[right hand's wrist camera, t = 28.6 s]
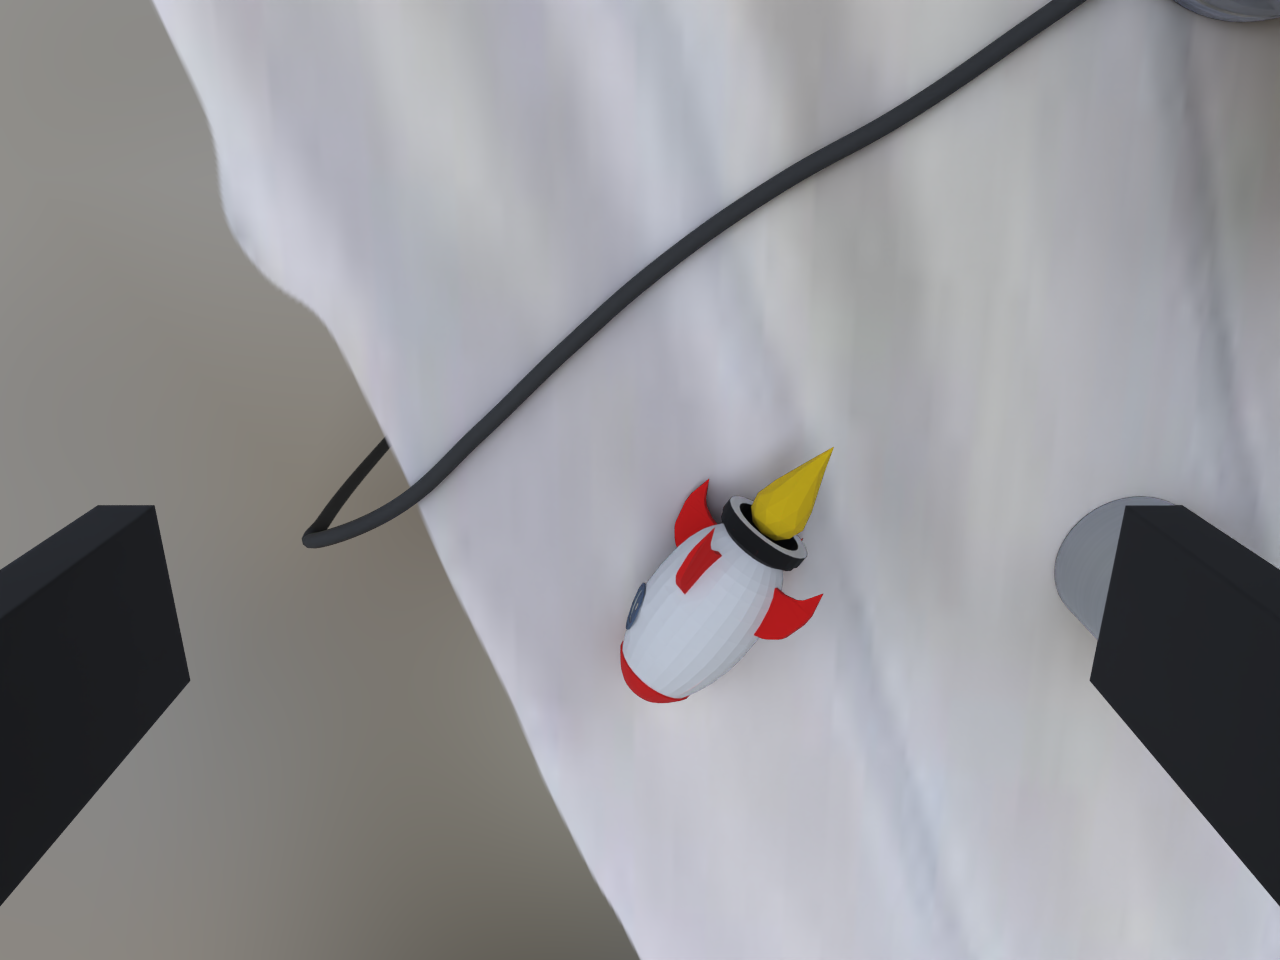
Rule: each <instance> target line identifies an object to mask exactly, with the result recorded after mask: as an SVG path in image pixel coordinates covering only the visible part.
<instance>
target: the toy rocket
mask: <svg viewBox="0 0 1280 960" xmlns="http://www.w3.org/2000/svg"><path fill="white" fill-rule="evenodd" d="M833 448H834V447H832V448H831V449H829V450H827V451H825V452H824V453H822V454H820V455H818V456H817V457H815V458H813V459H811V460H809V461H808V462H806V463H804V464H803V465H801V466H799V467H797V468H796V469H794V470H792V471H790V472H789V473H787V474H785V475H784V476H782V477H780V478H778V479H777V480H775V481H774V482H772V483H771V484H770V485H768V486H767V487H765V488H764V489H763V490H761V491H760V492H759V493H758V494H757V496H756V498H755V500H754V501H752V500H750V499H747V498H745V497H741V496H733V497H731V498H730V500H729V501H728V502H727V503H726V505H725V506H724V508H723V513H722V515H721V518H722V522H723V523H722V524H717V523H716V522H715V521H714V519H713V518H712V516H711V514H710V512H709V510H708V508H707V503H706V495H707V489H708V483H709V479H708V480H707V481H706V482H704V483H703V484H702V485H701V486H700V487H698V488H697V489H696V490H695V491H694V492H692V493H691V495H690V496H689V497H688V499H687V500H686V501H685V503H684V505H683V508H682V510H681V512H680V514H679V516H678V518H677V520H676V523H675V543H676V546H677V548H676V549H675V550H674V551H673V552H672V553H671V554H670V555H669V556H668V557H667V559H666V560H665V561H664V562H663V563H662V564H661V565H660V566H659V568H658V569H657V570H656V572H655V573H654V574H653V576H652V577H651V578H650V580H649V581H648V582H647V584H645V583H642V585H641V586H640V588H639V589H638V592H637V594H636V596H635V598H634V601H633V603H632V606H631V609H630V612H629V615H628V619H627V623H626V629H627V630H626V633H625V637H624V641H623V642H622V644H621V650H620V653H621V669H622V673H623V676H624V680H625V682H626V683H627V685H628V686H629V688H630V689H631V690H632V691H633V692H634V693H635V694H636V695H638V696H639V697H641V698H642V699H644V700H646V701H649V702H654V703H670V702H676V701H681V700H684V699H687V697H688V696H689V695H691V694H693V693H695V692H697V691H699V690H701V689H703V688H705V687H706V686H708V685H710V684H712V683H713V682H715V681H716V680H717V679H718V678H720V677H721V676H722V675H724V674H725V673H726V672H728V671H729V670H730V669H731V668H732V667H733V666H734V665H735V664H736V663H737V662H738V661H740V659H741V658H742V657H743V656H744V655H745V654H746V653H747V651H748V650H749V649H750V648H751V647H752V646H753V644H754V643H755V642H756V641H757V640H758V638H762V639H774V640H779V639H784V638H786V637H788V636H789V635H791V634H792V633H794V632H795V631H797V630H798V629H799V628H801V627H802V626H804V625H805V624H806V623H807V622H808V620H809V619H810V618H811V617H812V615H813V613H814V611H815V609H816V607H817V605H818V603H819V601H820V599H821V597H822V595H823V594H821V595H818V596H815V597H813V598H810V599H807V600H796V599H794V598H791V597H789V596H787V595H785V594H784V593H783V592H782V584H783V570H784V571H791V570H792V569H793V568H797V567H798V566H799V565H800V564H801V563H802V561H803V560H804V559H805V558H806V557H807V550H806V547H805V545H804V544H803V542H802V540H803V538H802V539H800V538H799V537H798V536H797V535H796V534H798V533H800V532H801V531H803V529H804V527H805V525H806V523H807V521H808V519H809V517H810V515H811V513H812V510H813V506H814V503H815V500H816V497H817V494H818V491H819V488H820V484H821V481H822V478H823V475H824V472H825V469H826V467H827V464H828V461H829V459H830V456H831V453H832V451H833Z"/></svg>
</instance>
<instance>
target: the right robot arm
mask: <svg viewBox="0 0 1280 960" xmlns="http://www.w3.org/2000/svg"><path fill="white" fill-rule="evenodd" d="M1085 1H1086V0H1052V1H1051V2H1049V3H1048V4H1047V5H1045V6H1044V7H1042V8H1041V9H1039V10H1038V11H1037V12H1035V13H1034V14H1032V15H1031V16H1029V17H1028V18H1027V19H1025V20H1024V21H1022V22H1021V23H1019V24H1018V25H1016V26H1015V27H1014V28H1012V29H1011V30H1009V31H1008V32H1007V33H1005V34H1004V35H1002V36H1001V37H999V38H998V39H997V40H995V41H994V42H992V43H991V44H990V45H988V46H987V47H985V48H984V49H982V50H981V51H980V52H978V53H977V54H975V55H974V56H973V57H971V58H970V59H968V60H967V61H965V62H964V63H963V64H961V65H960V66H958V67H957V68H955V69H954V70H953V71H951V72H950V73H948V74H947V75H945V76H944V77H942V78H941V79H939V80H938V81H936V82H935V83H933V84H932V85H930V86H929V87H927V88H926V89H924V90H923V91H921V92H920V93H918V94H916V95H915V96H913V97H912V98H910V99H909V100H907V101H905V102H904V103H902V104H901V105H899V106H897V107H896V108H894V109H893V110H891V111H889V112H888V113H886V114H884V115H882V116H881V117H879V118H877V119H876V120H874V121H872V122H870V123H868V124H867V125H865V126H863V127H861V128H859V129H858V130H856V131H854V132H852V133H850V134H848V135H846V136H845V137H843V138H841V139H839V140H837V141H835V142H833V143H831V144H830V145H828V146H826V147H824V148H822V149H820V150H818V151H817V152H815V153H813V154H811V155H809V156H808V157H806V158H804V159H802V160H801V161H799V162H797V163H795V164H794V165H792V166H790V167H789V168H787V169H785V170H784V171H782V172H780V173H779V174H777V175H776V176H774V177H772V178H771V179H769V180H768V181H766V182H765V183H763V184H761V185H760V186H758V187H757V188H755V189H754V190H752V191H750V192H749V193H747V194H746V195H744V196H743V197H741V198H740V199H738V200H737V201H735V202H734V203H732V204H731V205H729V206H728V207H726V208H725V209H723V210H722V211H720V212H719V213H717V214H716V215H715V216H713V217H712V218H710V219H709V220H707V221H706V222H705V223H703V224H702V225H700V226H699V227H698V228H696V229H695V230H694V231H692V232H691V233H690V234H688V235H687V236H686V237H684V238H683V239H682V240H680V241H679V242H678V243H676V244H675V245H674V246H672V247H671V248H670V249H668V250H667V251H666V252H665V253H663V254H662V255H661V256H659V257H658V258H657V259H656V260H654V261H653V262H652V263H651V264H649V265H648V266H647V267H646V268H644V269H643V270H642V271H641V272H639V273H638V274H637V275H636V276H635V277H633V278H632V279H631V280H630V281H629V282H627V283H626V284H625V285H624V286H623V287H622V288H620V289H619V290H618V291H617V292H616V293H615V294H614V295H612V296H611V297H610V298H609V299H608V300H607V301H606V302H605V303H603V304H602V305H601V306H600V307H599V308H598V309H597V310H596V311H595V312H593V313H592V314H591V315H590V316H589V317H588V318H587V319H586V320H585V321H584V322H583V323H582V324H580V325H579V326H578V327H577V328H576V329H575V330H574V331H573V332H572V333H571V334H570V335H569V336H567V337H566V338H565V339H564V340H563V341H562V342H561V343H560V344H559V345H558V346H557V347H556V348H554V349H553V350H552V351H551V352H550V353H549V354H548V355H547V356H546V357H545V358H544V359H543V360H542V361H541V362H540V363H539V364H538V365H537V366H536V367H535V368H534V369H533V370H532V371H530V372H529V373H528V374H527V375H526V376H525V377H524V378H523V379H522V380H521V381H520V382H519V383H518V384H517V385H516V386H515V387H514V388H513V389H512V390H511V391H510V392H509V393H508V394H507V395H506V396H505V397H504V398H503V399H502V400H501V401H500V402H499V403H498V404H497V405H496V406H495V407H494V408H493V409H492V410H491V411H490V412H489V413H488V414H487V415H486V416H485V417H484V418H483V419H482V420H481V421H480V422H478V423H477V424H476V425H475V426H474V427H473V428H472V429H471V430H470V431H469V432H468V433H467V434H466V435H465V436H464V437H463V438H462V439H461V440H460V441H459V442H458V443H457V444H456V445H455V446H454V447H453V448H452V449H451V450H450V451H449V452H448V453H447V454H446V455H445V456H444V457H443V458H442V459H441V460H440V461H439V462H438V463H437V464H436V465H435V466H434V467H433V468H432V469H431V470H430V471H429V472H428V473H427V474H426V475H425V476H424V477H422V478H421V479H420V480H419V481H418V482H417V483H415V484H414V485H413V486H412V487H410V488H409V489H408V490H407V491H405V492H404V493H402V494H401V495H400V496H398V497H397V498H395V499H394V500H392V501H391V502H389V503H387V504H386V505H384V506H382V507H380V508H379V509H377V510H375V511H373V512H371V513H369V514H367V515H365V516H362V517H360V518H358V519H356V520H353V521H351V522H348V523H346V524H343V525H340V526H337V527H334V528H331V529H328V527H329V526H330V524H331V523H332V521H333V520H334V518H335V517H336V515H337V514H338V512H339V511H340V509H341V508H342V506H343V505H344V504H345V502H346V501H347V500H348V498H349V497H350V496H351V494H352V493H353V492H354V491H355V489H356V488H357V487H358V485H359V484H360V483H361V482H362V481H363V479H364V478H365V477H366V476H367V474H368V473H369V472H370V471H371V470H372V468H373V467H374V466H375V465H376V464H377V463H378V461H379V460H380V459H381V458H382V457H383V456H384V454H385V453H386V452H387V451H388V450H389V449H390V447H391V445H390V444H389V442H388V440H387V438H386V436H385V437H384V438H383V439H382V440H381V442H380V443H379V444H378V445H377V446H376V447H375V448H374V449H373V450H372V452H371V453H370V454H369V455H368V456H367V457H366V458H365V459H364V460H363V462H362V463H361V464H360V465H359V466H358V467H357V468H356V470H355V471H354V472H353V473H352V474H351V475H350V476H349V478H348V479H347V480H346V481H345V482H344V484H343V485H342V486H341V487H340V489H339V490H338V491H337V492H336V494H335V495H334V496H333V497H332V499H331V500H330V501H329V503H328V504H327V505H326V506H325V508H324V509H323V511H322V512H321V514H320V515H319V516H318V518H317V519H316V520H315V522H314V523H313V524H312V525H311V526H310V527H309V528H308V529H307V530H306V531H305V533H304V534H303V537H302V543H303V545H305V546H306V547H307V548H321V547H325V546H329V545H333V544H336V543H339V542H342V541H345V540H348V539H351V538H353V537H356V536H358V535H361V534H363V533H366V532H368V531H370V530H372V529H374V528H376V527H378V526H380V525H382V524H384V523H386V522H388V521H390V520H391V519H393V518H395V517H396V516H398V515H400V514H401V513H403V512H404V511H406V510H407V509H409V508H410V507H412V506H413V505H415V504H416V503H417V502H418V501H420V500H421V499H422V498H424V497H425V496H426V495H427V494H428V493H430V492H431V491H432V490H433V489H434V488H435V487H436V486H437V485H438V484H440V483H441V482H442V481H443V480H444V479H445V478H446V477H447V476H448V475H449V474H450V473H451V472H452V471H453V470H454V469H455V468H456V467H457V466H458V465H459V464H460V463H461V462H462V461H463V460H464V459H465V458H466V457H467V456H468V455H469V454H470V453H471V452H472V451H473V450H474V449H475V448H476V447H477V446H478V445H479V444H480V443H481V442H482V441H483V440H484V439H485V438H486V437H487V436H489V435H490V434H491V433H492V432H493V431H494V430H495V429H496V428H497V427H498V426H499V425H500V424H501V423H502V422H503V421H504V420H505V419H506V418H507V417H509V416H510V415H511V414H512V413H513V412H514V411H515V410H516V409H517V408H518V407H519V406H520V405H521V404H522V403H523V402H524V401H525V400H526V399H527V398H528V397H529V396H530V395H531V394H532V393H533V392H534V391H535V390H536V389H537V388H538V387H539V386H540V385H541V384H542V383H543V382H544V381H545V380H546V379H547V378H548V377H549V376H550V375H551V374H552V373H554V372H555V371H556V370H557V369H558V368H559V367H560V366H561V365H562V364H563V363H564V362H565V361H566V360H567V359H568V358H570V357H571V356H572V355H573V354H574V353H575V352H576V351H577V350H578V349H579V348H580V347H582V346H583V345H584V344H585V343H586V342H587V341H588V340H589V339H590V338H591V337H593V336H594V335H595V334H596V333H597V332H598V331H599V330H600V329H601V328H602V327H604V326H605V325H606V324H607V323H608V322H609V321H610V320H611V319H612V318H613V317H615V316H616V315H617V314H618V313H619V312H620V311H621V310H623V309H624V308H625V307H626V306H627V305H628V304H629V303H631V302H632V301H633V300H634V299H635V298H636V297H638V296H639V295H640V294H641V293H642V292H644V291H645V290H646V289H647V288H649V287H650V286H651V285H652V284H653V283H655V282H656V281H657V280H658V279H660V278H661V277H662V276H664V275H665V274H666V273H667V272H669V271H670V270H671V269H673V268H674V267H675V266H676V265H678V264H679V263H680V262H682V261H683V260H684V259H686V258H687V257H688V256H690V255H691V254H692V253H694V252H695V251H696V250H698V249H699V248H700V247H702V246H703V245H704V244H706V243H707V242H709V241H710V240H711V239H713V238H714V237H716V236H717V235H718V234H720V233H721V232H723V231H724V230H726V229H727V228H729V227H730V226H732V225H733V224H734V223H736V222H737V221H739V220H740V219H742V218H743V217H745V216H747V215H748V214H750V213H751V212H753V211H754V210H756V209H757V208H759V207H760V206H762V205H764V204H765V203H767V202H768V201H770V200H771V199H773V198H775V197H776V196H778V195H779V194H781V193H783V192H784V191H786V190H787V189H789V188H791V187H792V186H794V185H796V184H797V183H799V182H801V181H802V180H804V179H806V178H808V177H809V176H811V175H813V174H815V173H816V172H818V171H820V170H822V169H824V168H826V167H827V166H829V165H831V164H833V163H835V162H837V161H839V160H841V159H842V158H844V157H846V156H848V155H850V154H852V153H854V152H856V151H858V150H859V149H861V148H863V147H865V146H867V145H869V144H871V143H872V142H874V141H876V140H878V139H880V138H881V137H883V136H885V135H887V134H888V133H890V132H892V131H894V130H895V129H897V128H899V127H900V126H902V125H904V124H905V123H907V122H909V121H910V120H912V119H913V118H915V117H917V116H918V115H920V114H921V113H923V112H925V111H926V110H928V109H929V108H931V107H932V106H934V105H935V104H937V103H938V102H940V101H942V100H943V99H945V98H946V97H948V96H949V95H951V94H952V93H954V92H955V91H957V90H958V89H959V88H961V87H962V86H964V85H965V84H967V83H968V82H970V81H971V80H973V79H974V78H975V77H977V76H978V75H980V74H981V73H983V72H984V71H985V70H987V69H988V68H990V67H991V66H993V65H994V64H995V63H997V62H998V61H1000V60H1001V59H1003V58H1004V57H1005V56H1007V55H1008V54H1010V53H1011V52H1013V51H1014V50H1015V49H1017V48H1018V47H1020V46H1021V45H1023V44H1024V43H1025V42H1027V41H1028V40H1030V39H1031V38H1033V37H1034V36H1036V35H1037V34H1038V33H1040V32H1041V31H1043V30H1044V29H1046V28H1047V27H1049V26H1050V25H1052V24H1053V23H1054V22H1056V21H1057V20H1059V19H1060V18H1062V17H1063V16H1065V15H1066V14H1067V13H1069V12H1070V11H1072V10H1073V9H1075V8H1076V7H1077V6H1079V5H1080V4H1082V3H1083V2H1085ZM1174 1H1175V2H1177V3H1178V4H1180V5H1182V6H1183V7H1185V8H1187V9H1189V10H1191V11H1193V12H1195V13H1197V14H1200V15H1203V16H1206V17H1209V18H1213V19H1218V20H1223V21H1233V22H1254V21H1261V20H1269V19H1274V18H1279V17H1280V0H1174ZM327 529H328V530H327ZM189 681H190V677H189V672H188V667H187V662H186V657H185V652H184V647H183V642H182V638H181V633H180V628H179V623H178V618H177V613H176V608H175V603H174V598H173V594H172V589H171V584H170V579H169V574H168V569H167V564H166V559H165V555H164V550H163V545H162V540H161V535H160V530H159V525H158V520H157V515H156V511H155V506H154V505H98V506H96V507H95V508H93V509H92V510H90V511H89V512H87V513H86V514H84V515H83V516H81V517H80V518H78V519H76V520H75V521H74V522H72V523H70V524H69V525H67V526H66V527H64V528H63V529H61V530H60V531H58V532H57V533H55V534H54V535H52V536H51V537H49V538H48V539H46V540H45V541H43V542H42V543H40V544H39V545H37V546H36V547H34V548H33V549H31V550H30V551H28V552H27V553H25V554H24V555H22V556H21V557H19V558H18V559H16V560H15V561H13V562H12V563H10V564H8V565H7V566H6V567H4V568H2V569H1V570H0V906H1V905H2V903H3V902H4V901H5V900H6V899H7V898H8V896H9V895H10V894H11V893H12V892H13V890H14V889H15V888H16V887H17V886H18V885H19V883H20V882H21V881H22V880H23V879H24V877H25V876H26V875H27V874H28V873H29V871H30V870H31V869H32V868H33V867H34V866H35V864H36V863H37V862H38V861H39V860H40V858H41V857H42V856H43V855H44V854H45V852H46V851H47V850H48V849H49V848H50V847H51V845H52V844H53V843H54V842H55V841H56V839H57V838H58V837H59V836H60V835H61V833H62V832H63V831H64V830H65V829H66V828H67V826H68V825H69V824H70V823H71V822H72V820H73V819H74V818H75V817H76V816H77V814H78V813H79V812H80V811H81V810H82V809H83V807H84V806H85V805H86V804H87V803H88V801H89V800H90V799H91V798H92V797H93V795H94V794H95V793H96V792H97V791H98V790H99V788H100V787H101V786H102V785H103V784H104V782H105V781H106V780H107V779H108V778H109V776H110V775H111V774H112V773H113V772H114V771H115V769H116V768H117V767H118V766H119V765H120V763H121V762H122V761H123V760H124V759H125V757H126V756H127V755H128V754H129V753H130V752H131V750H132V749H133V748H134V747H135V746H136V744H137V743H138V742H139V741H140V740H141V738H142V737H143V736H144V735H145V734H146V733H147V731H148V730H149V729H150V728H151V727H152V725H153V724H154V723H155V722H156V721H157V719H158V718H159V717H160V716H161V715H162V714H163V712H164V711H165V710H166V709H167V708H168V706H169V705H170V704H171V703H172V702H173V700H174V699H175V698H176V697H177V696H178V695H179V693H180V692H181V691H182V690H183V689H184V687H185V686H186V685H187V684H188V683H189ZM1090 681H1091V683H1092V684H1093V685H1094V686H1095V687H1096V689H1097V690H1098V691H1099V692H1100V693H1101V695H1102V696H1103V697H1104V698H1105V699H1106V700H1107V702H1108V703H1109V704H1110V705H1111V706H1112V708H1113V709H1114V710H1115V711H1116V712H1117V714H1118V715H1119V716H1120V717H1121V718H1122V719H1123V721H1124V722H1125V723H1126V724H1127V725H1128V727H1129V728H1130V729H1131V730H1132V731H1133V733H1134V734H1135V735H1136V736H1137V737H1138V738H1139V740H1140V741H1141V742H1142V743H1143V744H1144V746H1145V747H1146V748H1147V749H1148V750H1149V752H1150V753H1151V754H1152V755H1153V756H1154V757H1155V759H1156V760H1157V761H1158V762H1159V763H1160V765H1161V766H1162V767H1163V768H1164V769H1165V771H1166V772H1167V773H1168V774H1169V775H1170V776H1171V778H1172V779H1173V780H1174V781H1175V782H1176V784H1177V785H1178V786H1179V787H1180V788H1181V790H1182V791H1183V792H1184V793H1185V794H1186V795H1187V797H1188V798H1189V799H1190V800H1191V801H1192V803H1193V804H1194V805H1195V806H1196V807H1197V809H1198V810H1199V811H1200V812H1201V813H1202V814H1203V816H1204V817H1205V818H1206V819H1207V820H1208V822H1209V823H1210V824H1211V825H1212V826H1213V828H1214V829H1215V830H1216V831H1217V832H1218V833H1219V835H1220V836H1221V837H1222V838H1223V839H1224V841H1225V842H1226V843H1227V844H1228V845H1229V847H1230V848H1231V849H1232V850H1233V851H1234V852H1235V854H1236V855H1237V856H1238V857H1239V858H1240V860H1241V861H1242V862H1243V863H1244V864H1245V866H1246V867H1247V868H1248V869H1249V870H1250V871H1251V873H1252V874H1253V875H1254V876H1255V877H1256V879H1257V880H1258V881H1259V882H1260V883H1261V885H1262V886H1263V887H1264V888H1265V889H1266V890H1267V892H1268V893H1269V894H1270V895H1271V896H1272V898H1273V899H1274V900H1275V901H1276V902H1277V904H1278V905H1279V906H1280V570H1279V569H1278V568H1276V567H1275V566H1273V565H1272V564H1270V563H1269V562H1267V561H1265V560H1264V559H1262V558H1261V557H1259V556H1258V555H1256V554H1255V553H1253V552H1252V551H1250V550H1249V549H1247V548H1246V547H1244V546H1243V545H1241V544H1240V543H1238V542H1237V541H1235V540H1234V539H1232V538H1231V537H1229V536H1228V535H1226V534H1225V533H1223V532H1222V531H1220V530H1219V529H1217V528H1216V527H1214V526H1213V525H1211V524H1210V523H1208V522H1207V521H1205V520H1204V519H1202V518H1200V517H1199V516H1197V515H1196V514H1194V513H1193V512H1191V511H1190V510H1188V509H1187V508H1185V507H1184V506H1182V505H1126V506H1125V510H1124V515H1123V520H1122V525H1121V530H1120V535H1119V540H1118V545H1117V550H1116V554H1115V559H1114V564H1113V569H1112V574H1111V579H1110V584H1109V589H1108V594H1107V598H1106V603H1105V608H1104V613H1103V618H1102V623H1101V628H1100V633H1099V638H1098V642H1097V647H1096V652H1095V657H1094V662H1093V667H1092V672H1091V677H1090Z"/></svg>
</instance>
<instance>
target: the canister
mask: <svg viewBox="0 0 1280 960" xmlns="http://www.w3.org/2000/svg"><path fill="white" fill-rule="evenodd" d="M1126 505H1174V504H1172V503H1170V502H1167V501H1165V500H1162V499H1158V498H1153V497H1130V498H1123V499H1120V500H1116V501H1113V502H1110V503H1108V504H1105V505H1103V506H1101V507H1099V508H1097V509H1095V510H1094V511H1092V512H1091V513H1089V514H1088V515H1086V516H1085V517H1084V518H1083V519H1082V520H1081V521H1079V522H1078V523H1077V524H1076V525H1075V527H1074V528H1073V529H1072V530H1071V531H1070V533H1069V534H1068V535H1067V537H1066V538H1065V540H1064V542H1063V543H1062V545H1061V548H1060V550H1059V552H1058V556H1057V559H1056V564H1055V582H1056V587H1057V590H1058V593H1059V595H1060V597H1061V599H1062V601H1063V602H1064V604H1065V605H1066V606H1067V608H1068V609H1069V610H1070V611H1071V612H1072V613H1073V614H1074V615H1075V616H1076V617H1077V618H1078V620H1079V621H1080V622H1081V623H1082V624H1083V625H1084V626H1085V627H1086V628H1087V629H1088V630H1089V631H1090V632H1091V634H1092V635H1093V636H1094V637H1095V638H1096V639H1097V640H1098V638H1099V633H1100V628H1101V623H1102V618H1103V613H1104V608H1105V603H1106V598H1107V594H1108V589H1109V584H1110V579H1111V574H1112V569H1113V564H1114V559H1115V554H1116V550H1117V545H1118V540H1119V535H1120V530H1121V525H1122V520H1123V515H1124V510H1125V506H1126Z"/></svg>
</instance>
